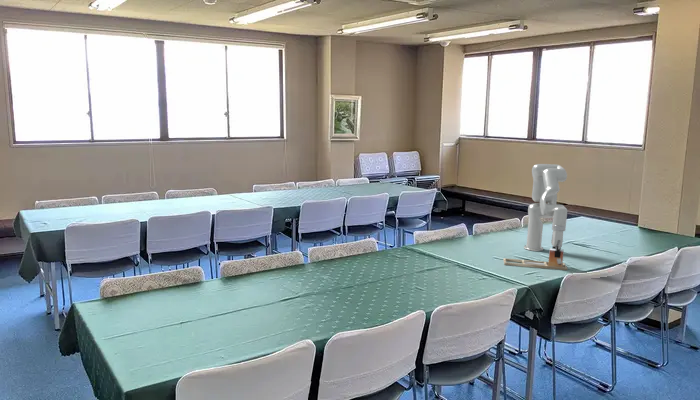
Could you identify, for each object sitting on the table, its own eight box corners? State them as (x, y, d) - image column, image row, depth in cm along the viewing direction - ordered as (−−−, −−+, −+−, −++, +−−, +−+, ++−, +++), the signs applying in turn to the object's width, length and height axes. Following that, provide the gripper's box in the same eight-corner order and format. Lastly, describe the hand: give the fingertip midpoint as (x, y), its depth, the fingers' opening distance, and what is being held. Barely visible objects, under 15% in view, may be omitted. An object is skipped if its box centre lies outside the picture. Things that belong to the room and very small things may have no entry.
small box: (547, 266, 319) (549, 249, 317) (548, 264, 324) (549, 247, 322) (561, 268, 316) (563, 251, 314) (562, 266, 321) (563, 249, 319)
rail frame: (503, 260, 330) (503, 258, 330) (564, 265, 323) (564, 263, 323) (504, 264, 321) (504, 262, 321) (567, 270, 313) (567, 267, 313)
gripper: (550, 223, 324) (547, 250, 328) (554, 230, 308) (551, 258, 311) (563, 224, 323) (560, 251, 326) (568, 231, 306) (565, 259, 309)
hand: (555, 255), depth 319 cm, fingers open, 9 cm apart
